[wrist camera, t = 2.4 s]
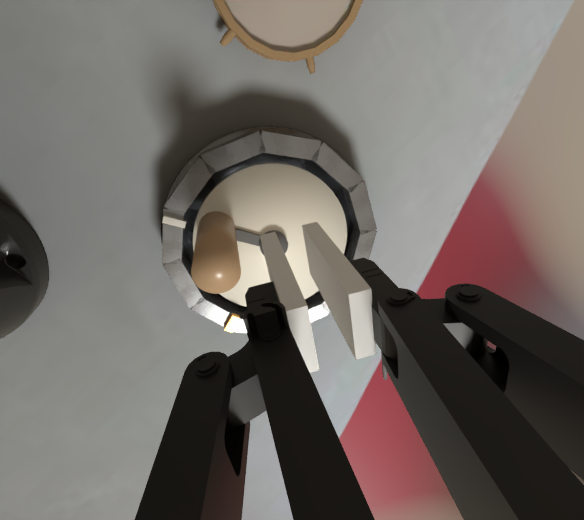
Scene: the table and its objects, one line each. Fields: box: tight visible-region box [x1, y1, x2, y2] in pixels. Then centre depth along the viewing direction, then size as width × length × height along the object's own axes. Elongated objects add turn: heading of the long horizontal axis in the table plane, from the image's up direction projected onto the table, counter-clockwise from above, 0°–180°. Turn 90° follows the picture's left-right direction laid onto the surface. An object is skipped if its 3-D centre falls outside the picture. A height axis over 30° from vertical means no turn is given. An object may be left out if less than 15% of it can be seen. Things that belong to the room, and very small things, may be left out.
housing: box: [161, 126, 377, 333], centre depth 32 cm, size 20×20×4 cm
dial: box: [191, 162, 347, 307], centre depth 28 cm, size 14×14×10 cm
